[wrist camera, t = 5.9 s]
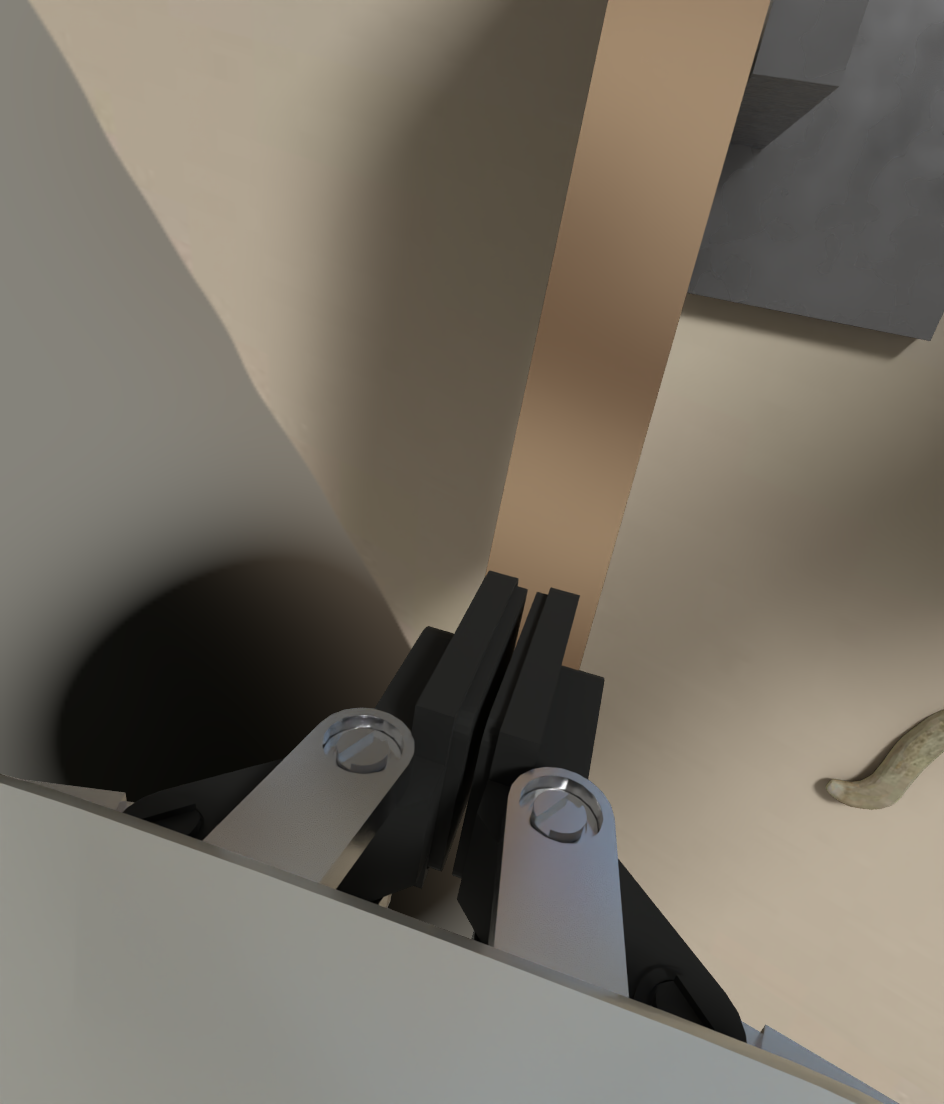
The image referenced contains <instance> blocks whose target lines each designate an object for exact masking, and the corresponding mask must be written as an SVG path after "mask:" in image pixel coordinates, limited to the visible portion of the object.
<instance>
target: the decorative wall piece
mask: <svg viewBox="0 0 944 1104" xmlns="http://www.w3.org/2000/svg"><path fill="white" fill-rule="evenodd" d="M943 752H944V710H942V711H939V712H937V713H935V714H933V715H931V716H929V717H928V718H926V719H925V720H923V721H922V722H921V723H919V724H918V725H917V726H915V727H914V728H913V729H912V730H910V731H909V732H908V733H906V734H905V735H904V736H903V737H902V738H901V739H900V740H899V741H898V742H897V743H896V744H895V745H894V747H893V748H892V749H891V751H890V752H889V754H888V755H887V757H886V758H885V759H884V761H883V762H882V763H881V764H880V766H879V767H878V768H877V769H876V771H875V772H874V773H873V774H872V775H870V776H869V777H867V778H865V779H863V780H861V781H854V782H848V781H843V780H837V779H832V780H830V781H829V783H828V784H827V785H826V790H827V792H828V793H829V794H830V795H831V796H833V797H834V798H835V799H836V800H838V801H839V802H841V803H844V804H846V805H848V806H850V807H856V808H862V809H870V810H873V809H882V808H885V807H889V806H891V805H893V804H895V803H896V802H897V801H899V799H900V798H901V797H902V795H903V794H904V793H905V791H906V790H907V789H908V787H909V786H910V785H911V784H912V783H913V781H914V780H915V779H916V778H917V777H918V776H919V774H920V773H921V772H922V771H923V770H924V769H925V768H926V767H927V766H928V765H929V764H930V763H931V762H933V761H934V760H935V759H936V758H937V757H938V756H939V755H940V754H941V753H943Z"/></svg>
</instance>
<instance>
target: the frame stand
mask: <svg viewBox="0 0 944 1104" xmlns="http://www.w3.org/2000/svg"><path fill="white" fill-rule="evenodd" d="M687 293H691V294H696V295H701V296H706V297H711V298H717V299H722V300H727V301H732V302H737V303H742V304H747V305H752V306H757V307H762V308H767V309H772V310H777V311H782V312H787V313H792V314H797V315H802V316H807V317H812V318H817V319H822V320H827V321H832V322H837V323H842V324H847V325H852V326H857V327H862V328H867V329H872V330H877V331H883V332H888V333H893V334H898V335H903V336H908V337H913V338H918V339H923V340H928V341H931V338H932V336H933V334H934V332H935V330H936V327H937V325H938V323H939V321H940V319H941V317H942V314H943V312H944V0H770V4H769V7H768V11H767V14H766V18H765V21H764V25H763V28H762V32H761V35H760V39H759V42H758V46H757V49H756V53H755V56H754V60H753V63H752V67H751V70H750V74H749V77H748V81H747V84H746V88H745V91H744V95H743V98H742V102H741V105H740V108H739V112H738V115H737V119H736V122H735V126H734V129H733V133H732V136H731V140H730V143H729V147H728V150H727V154H726V157H725V161H724V164H723V168H722V171H721V175H720V178H719V182H718V185H717V189H716V192H715V196H714V199H713V203H712V206H711V210H710V213H709V217H708V220H707V224H706V227H705V231H704V234H703V238H702V241H701V245H700V248H699V252H698V255H697V259H696V262H695V266H694V269H693V273H692V276H691V280H690V283H689V287H688V290H687Z"/></svg>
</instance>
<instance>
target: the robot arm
mask: <svg viewBox="0 0 944 1104" xmlns="http://www.w3.org/2000/svg"><path fill="white" fill-rule="evenodd" d="M518 581H519V578H516V577H512V576H508V575H505V574H501V573H498V572H494V571H490V570H489V571H488V573H487V575H486V577H485V578H484V580H483V582H482V584H481V586H480V588H479V589H478V591H477V593H476V595H475V597H474V599H473V600H472V602H471V604H470V606H469V608H468V610H467V612H466V613H465V615H464V617H463V619H462V621H461V623H460V624H459V626H458V628H457V630H456V632H455V634H454V633H450V632H447V631H443V630H440V629H436V628H433V627H430V626H428V627H426V628H425V629H424V630H423V632H422V633H421V635H420V636H419V638H418V640H417V641H416V643H415V644H414V646H413V648H412V649H411V651H410V653H409V654H408V656H407V657H406V659H405V661H404V662H403V664H402V665H401V667H400V669H399V670H398V672H397V673H396V675H395V677H394V678H393V680H392V681H391V683H390V685H389V686H388V688H387V689H386V691H385V693H384V694H383V696H382V698H381V699H380V701H379V702H378V704H377V705H376V707H375V709H368V708H356V709H347V710H343V711H340V712H338V713H335V714H332V715H331V716H329V717H328V718H326V719H325V720H324V721H322V722H321V723H320V724H319V725H318V726H317V727H316V728H315V729H314V730H313V731H312V732H311V733H310V734H309V735H308V736H307V737H306V738H305V739H304V740H303V741H302V742H301V743H300V744H299V745H298V746H297V747H296V748H295V749H294V750H293V751H292V752H291V753H290V754H289V755H288V756H287V757H286V758H283V759H279V760H276V761H272V762H268V763H264V764H260V765H256V766H253V767H249V768H245V769H241V770H238V771H234V772H230V773H226V774H222V775H219V776H215V777H211V778H207V779H204V780H200V781H196V782H192V783H189V784H184V785H181V786H177V787H173V788H169V789H165V790H162V791H159V792H156V793H153V794H151V795H148V796H146V797H143V798H141V799H140V800H138V801H137V802H135V803H133V802H126V794H125V793H122V792H115V791H106V790H99V789H91V788H83V787H76V786H69V785H61V784H53V783H46V782H38V781H30V780H23V779H17V778H13V777H10V776H7V775H3V774H0V1104H899V1103H897V1102H895V1101H894V1100H892V1099H890V1098H889V1097H887V1096H885V1095H883V1094H882V1093H880V1092H878V1091H877V1090H875V1089H873V1088H872V1087H870V1086H868V1085H867V1084H865V1083H863V1082H862V1081H860V1080H858V1079H856V1078H855V1077H853V1076H851V1075H850V1074H848V1073H846V1072H845V1071H843V1070H841V1069H840V1068H838V1067H836V1066H835V1065H833V1064H831V1063H829V1062H828V1061H826V1060H824V1059H823V1058H821V1057H819V1056H818V1055H816V1054H814V1053H813V1052H811V1051H809V1050H808V1049H806V1048H804V1047H802V1046H801V1045H799V1044H797V1043H796V1042H794V1041H792V1040H791V1039H789V1038H787V1037H786V1036H784V1035H782V1034H781V1033H779V1032H777V1031H776V1030H774V1029H772V1028H770V1027H769V1026H767V1025H765V1026H764V1028H763V1029H762V1031H761V1032H759V1031H757V1030H755V1029H754V1028H752V1027H750V1026H749V1025H747V1024H745V1023H744V1022H742V1021H741V1019H740V1016H739V1013H738V1012H737V1010H736V1008H735V1007H734V1005H733V1004H732V1002H731V1001H730V999H729V998H728V996H727V994H726V993H725V992H724V990H723V989H722V988H721V987H720V985H719V984H718V983H717V982H716V980H715V979H714V978H713V977H712V975H711V974H710V973H709V972H708V970H707V969H706V968H705V967H704V965H703V964H702V963H701V962H700V960H699V959H698V958H697V957H696V955H695V954H694V953H693V952H692V950H691V949H690V948H689V947H688V945H687V944H686V943H685V942H684V940H683V939H682V938H681V937H680V935H679V934H678V933H677V932H676V930H675V929H674V928H673V927H672V925H671V924H670V923H669V922H668V920H667V919H666V918H665V917H664V915H663V914H662V913H661V912H660V910H659V909H658V908H657V907H656V905H655V904H654V903H653V902H652V900H651V899H650V898H649V897H648V895H647V894H646V893H645V892H644V890H643V889H642V888H641V887H640V885H639V884H638V883H637V882H636V880H635V879H634V878H633V877H632V875H631V874H630V873H629V872H628V870H627V869H626V868H625V867H624V865H623V864H622V863H621V862H620V860H619V859H618V855H617V843H616V831H615V819H614V815H613V811H612V807H611V805H610V803H609V801H608V800H607V798H606V797H605V795H604V794H603V792H602V791H601V790H600V789H598V788H597V787H596V786H595V785H594V784H593V783H592V782H591V781H589V780H588V776H589V770H590V764H591V758H592V752H593V746H594V740H595V734H596V728H597V722H598V716H599V710H600V704H601V698H602V692H603V686H604V678H603V677H600V676H597V675H593V674H590V673H586V672H583V671H579V670H576V669H573V668H569V667H566V666H562V662H563V658H564V654H565V650H566V647H567V643H568V639H569V635H570V632H571V628H572V624H573V620H574V617H575V613H576V609H577V605H578V602H579V598H580V595H577V594H574V593H570V592H566V591H563V590H559V589H556V588H552V587H551V588H550V590H549V593H548V595H547V594H544V593H540V592H537V593H536V595H535V598H534V600H533V603H532V605H531V608H530V611H529V613H528V616H527V618H526V621H525V624H524V626H523V629H522V631H521V634H520V637H519V639H518V642H517V644H516V640H517V636H518V632H519V627H520V623H521V619H522V615H523V610H524V606H525V602H526V597H527V592H528V589H526V588H522V587H519V586H518ZM515 645H516V647H515ZM514 649H515V650H514ZM468 799H469V800H468ZM467 802H468V804H467ZM466 805H467V809H466V813H465V818H464V823H463V827H462V832H461V837H460V841H459V845H458V850H457V854H456V859H455V863H454V868H453V873H452V875H453V876H456V877H459V878H462V880H461V885H460V888H459V893H458V897H457V900H458V902H459V904H460V906H461V907H462V909H463V911H464V913H465V915H466V916H467V918H468V920H469V922H470V923H471V925H472V927H473V929H474V931H473V935H472V939H469V938H467V937H464V936H461V935H458V934H455V933H453V932H450V931H447V930H445V929H442V928H439V927H436V926H434V925H431V924H429V923H426V922H423V921H420V920H418V919H415V918H412V917H409V916H406V915H404V914H401V913H399V912H396V911H393V910H390V909H388V908H387V907H388V905H389V902H390V899H391V894H393V893H395V892H398V891H400V890H403V889H405V888H408V887H411V886H416V887H419V888H422V887H423V884H424V881H425V879H426V876H427V874H428V871H429V869H430V867H431V868H433V869H436V870H439V871H442V870H443V868H444V865H445V862H446V860H447V857H448V854H449V851H450V849H451V846H452V843H453V840H454V838H455V835H456V832H457V829H458V827H459V823H460V821H461V819H462V816H463V813H464V810H465V807H466Z"/></svg>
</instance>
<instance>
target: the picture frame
mask: <svg viewBox="0 0 944 1104" xmlns="http://www.w3.org/2000/svg"><path fill="white" fill-rule="evenodd" d="M769 4H770V0H608V4H607V8H606V13H605V18H604V22H603V27H602V32H601V36H600V41H599V46H598V51H597V55H596V60H595V65H594V69H593V74H592V79H591V83H590V88H589V93H588V97H587V102H586V107H585V111H584V116H583V121H582V125H581V130H580V135H579V139H578V144H577V149H576V154H575V158H574V163H573V168H572V172H571V177H570V182H569V186H568V191H567V196H566V200H565V205H564V210H563V214H562V219H561V224H560V228H559V233H558V238H557V242H556V247H555V252H554V257H553V261H552V266H551V271H550V275H549V280H548V285H547V289H546V294H545V299H544V303H543V308H542V313H541V317H540V322H539V327H538V331H537V336H536V341H535V346H534V350H533V355H532V360H531V364H530V369H529V374H528V378H527V383H526V388H525V392H524V397H523V402H522V406H521V411H520V416H519V420H518V425H517V430H516V434H515V439H514V444H513V449H512V453H511V458H510V463H509V467H508V472H507V477H506V481H505V486H504V491H503V495H502V500H501V505H500V509H499V514H498V519H497V523H496V528H495V533H494V537H493V542H492V547H491V552H490V556H489V561H488V566H487V570H486V575H487V573H488V571H489V570H490V571H494V572H498V573H501V574H505V575H508V576H512V577H516V578H519V581H518V586H519V587H522V588H526V589H528V592H527V597H526V602H525V606H524V610H523V615H522V619H521V623H520V627H519V632H518V636H517V640H516V644H517V642H518V639H519V637H520V634H521V631H522V629H523V626H524V624H525V621H526V618H527V616H528V613H529V611H530V608H531V605H532V603H533V600H534V598H535V595H536V593H537V592H540V593H544V594H547V595H548V593H549V590H550V588H551V587H552V588H556V589H559V590H563V591H566V592H570V593H574V594H577V595H580V598H579V602H578V605H577V609H576V613H575V617H574V620H573V624H572V628H571V632H570V635H569V639H568V643H567V647H566V650H565V654H564V658H563V662H562V666H566V667H569V668H573V669H576V670H579V668H580V665H581V661H582V658H583V654H584V651H585V647H586V644H587V640H588V637H589V633H590V630H591V626H592V623H593V619H594V616H595V612H596V609H597V605H598V602H599V598H600V595H601V591H602V588H603V584H604V581H605V577H606V574H607V570H608V567H609V563H610V560H611V556H612V553H613V549H614V546H615V542H616V539H617V535H618V532H619V528H620V525H621V521H622V518H623V514H624V511H625V507H626V504H627V500H628V497H629V493H630V490H631V486H632V483H633V479H634V476H635V472H636V469H637V465H638V462H639V458H640V455H641V451H642V448H643V444H644V441H645V437H646V434H647V430H648V427H649V423H650V420H651V416H652V413H653V409H654V406H655V402H656V399H657V395H658V392H659V388H660V385H661V381H662V378H663V374H664V371H665V367H666V364H667V360H668V357H669V353H670V350H671V346H672V343H673V339H674V336H675V332H676V329H677V325H678V322H679V318H680V315H681V311H682V308H683V304H684V301H685V297H686V294H687V290H688V287H689V283H690V280H691V276H692V273H693V269H694V266H695V262H696V259H697V255H698V252H699V248H700V245H701V241H702V238H703V234H704V231H705V227H706V224H707V220H708V217H709V213H710V210H711V206H712V203H713V199H714V196H715V192H716V189H717V185H718V182H719V178H720V175H721V171H722V168H723V164H724V161H725V157H726V154H727V150H728V147H729V143H730V140H731V136H732V133H733V129H734V126H735V122H736V119H737V115H738V112H739V108H740V105H741V102H742V98H743V95H744V91H745V88H746V84H747V81H748V77H749V74H750V70H751V67H752V63H753V60H754V56H755V53H756V49H757V46H758V42H759V39H760V35H761V32H762V28H763V25H764V21H765V18H766V14H767V11H768V7H769ZM486 575H485V577H486ZM515 647H516V645H515ZM514 650H515V649H514Z"/></svg>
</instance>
